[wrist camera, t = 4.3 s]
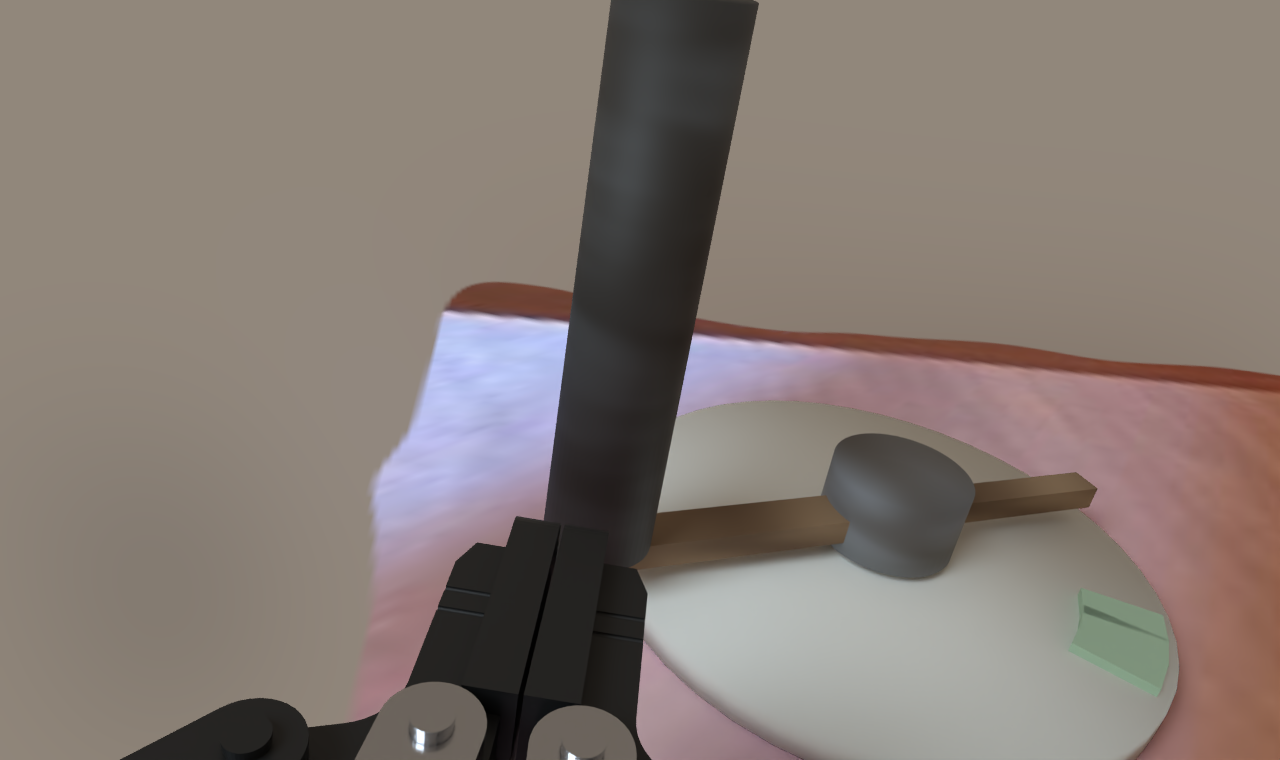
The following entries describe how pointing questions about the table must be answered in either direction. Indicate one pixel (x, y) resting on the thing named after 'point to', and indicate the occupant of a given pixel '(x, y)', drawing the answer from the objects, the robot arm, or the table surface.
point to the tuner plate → (905, 615)
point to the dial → (664, 322)
